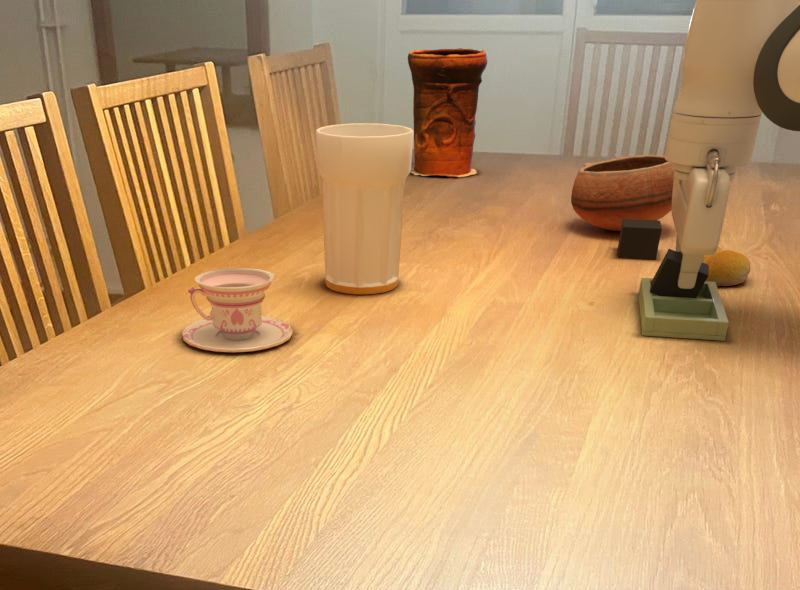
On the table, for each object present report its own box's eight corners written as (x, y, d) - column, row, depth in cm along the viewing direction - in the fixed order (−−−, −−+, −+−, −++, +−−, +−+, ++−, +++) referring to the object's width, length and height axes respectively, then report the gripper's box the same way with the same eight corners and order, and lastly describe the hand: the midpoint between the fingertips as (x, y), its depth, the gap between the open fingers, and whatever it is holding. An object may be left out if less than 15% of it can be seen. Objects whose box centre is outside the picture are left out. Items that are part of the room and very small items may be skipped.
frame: (711, 298, 115) (715, 281, 114) (724, 341, 102) (729, 322, 101) (638, 294, 117) (641, 277, 115) (642, 335, 104) (645, 316, 103)
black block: (654, 251, 134) (660, 220, 132) (655, 259, 130) (661, 228, 128) (617, 249, 135) (622, 218, 133) (617, 257, 131) (623, 226, 129)
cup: (420, 279, 123) (429, 126, 113) (382, 302, 115) (387, 139, 105) (342, 268, 127) (344, 120, 117) (300, 289, 119) (297, 132, 109)
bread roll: (721, 291, 117) (728, 257, 115) (662, 275, 123) (668, 243, 121) (762, 280, 121) (771, 247, 119) (703, 265, 127) (710, 233, 125)
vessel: (400, 178, 179) (405, 53, 168) (405, 165, 191) (410, 47, 179) (478, 179, 178) (488, 53, 166) (478, 166, 189) (488, 47, 178)
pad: (690, 297, 114) (708, 265, 111) (689, 309, 110) (708, 275, 107) (651, 281, 114) (668, 248, 112) (649, 291, 110) (667, 258, 108)
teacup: (274, 315, 111) (273, 259, 107) (307, 347, 101) (306, 287, 98) (172, 326, 108) (166, 268, 104) (195, 360, 98) (190, 298, 95)
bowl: (570, 215, 153) (580, 145, 147) (673, 221, 149) (687, 149, 143) (563, 238, 140) (573, 162, 135) (675, 244, 137) (690, 167, 131)
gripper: (753, 160, 94) (720, 304, 102) (731, 130, 110) (704, 257, 118) (685, 158, 95) (658, 301, 103) (674, 129, 111) (651, 254, 119)
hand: (682, 277), depth 110 cm, fingers open, 7 cm apart
